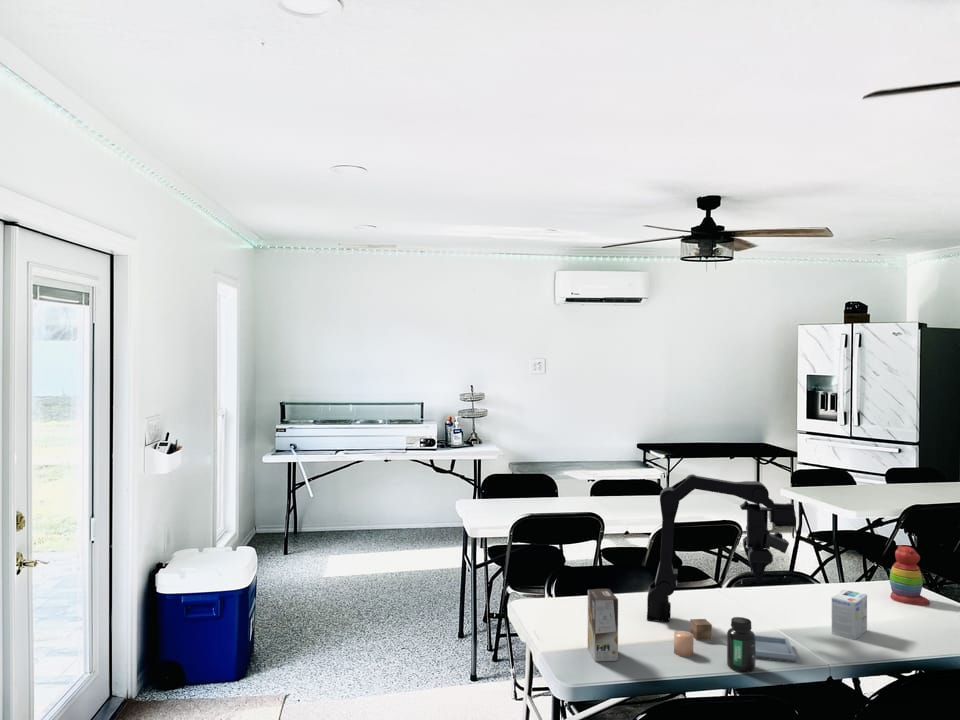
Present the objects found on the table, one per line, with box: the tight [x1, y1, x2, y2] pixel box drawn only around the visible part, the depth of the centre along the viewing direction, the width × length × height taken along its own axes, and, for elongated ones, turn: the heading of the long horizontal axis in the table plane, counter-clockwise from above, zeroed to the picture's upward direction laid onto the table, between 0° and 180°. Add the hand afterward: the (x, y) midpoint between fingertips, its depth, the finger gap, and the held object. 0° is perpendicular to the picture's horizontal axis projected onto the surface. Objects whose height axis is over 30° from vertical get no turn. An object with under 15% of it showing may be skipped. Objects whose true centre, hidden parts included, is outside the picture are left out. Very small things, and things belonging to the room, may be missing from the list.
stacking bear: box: [889, 544, 931, 606], centre depth 229 cm, size 11×10×18 cm
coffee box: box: [587, 588, 619, 662], centre depth 183 cm, size 9×6×16 cm
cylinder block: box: [673, 630, 695, 658], centre depth 185 cm, size 5×5×5 cm
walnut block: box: [689, 618, 713, 641], centre depth 196 cm, size 4×4×4 cm
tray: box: [755, 634, 796, 663], centre depth 187 cm, size 12×12×2 cm
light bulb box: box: [831, 589, 868, 641], centre depth 200 cm, size 11×7×11 cm, turn 134°
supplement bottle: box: [726, 616, 757, 673], centre depth 176 cm, size 7×7×12 cm
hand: (757, 578), depth 203 cm, fingers open, 9 cm apart
